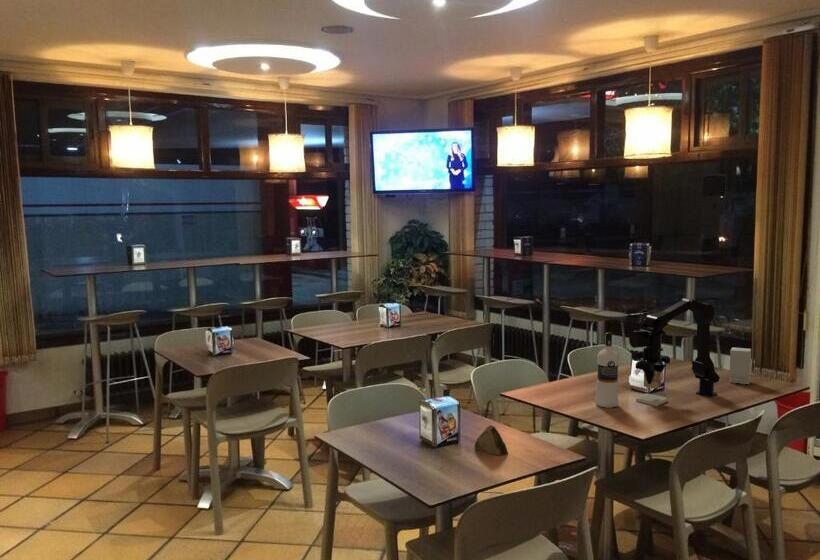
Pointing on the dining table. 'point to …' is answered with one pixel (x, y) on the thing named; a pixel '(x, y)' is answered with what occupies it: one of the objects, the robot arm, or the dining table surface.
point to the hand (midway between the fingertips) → (652, 382)
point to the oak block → (653, 381)
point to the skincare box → (740, 365)
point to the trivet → (651, 399)
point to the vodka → (607, 375)
